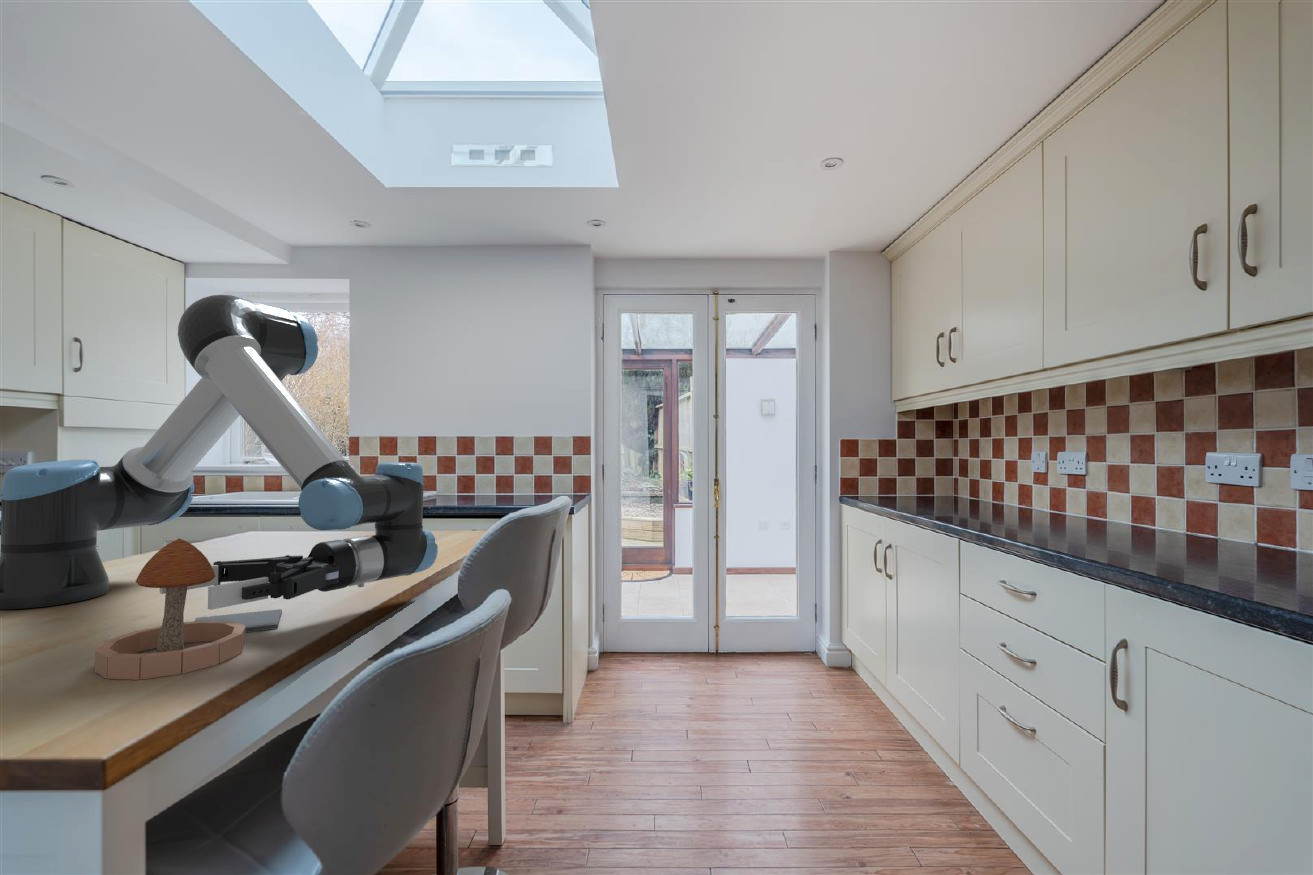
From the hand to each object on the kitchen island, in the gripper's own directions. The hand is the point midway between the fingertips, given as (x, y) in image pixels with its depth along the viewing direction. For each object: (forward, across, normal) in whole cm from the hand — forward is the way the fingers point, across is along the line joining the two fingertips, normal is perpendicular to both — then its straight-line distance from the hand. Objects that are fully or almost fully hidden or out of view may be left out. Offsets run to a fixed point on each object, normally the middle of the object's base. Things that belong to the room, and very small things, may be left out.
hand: (183, 590), depth 77 cm
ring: (+1, 0, -8) cm, 8 cm away
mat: (-10, +9, -8) cm, 16 cm away
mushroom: (+1, 0, -9) cm, 9 cm away
